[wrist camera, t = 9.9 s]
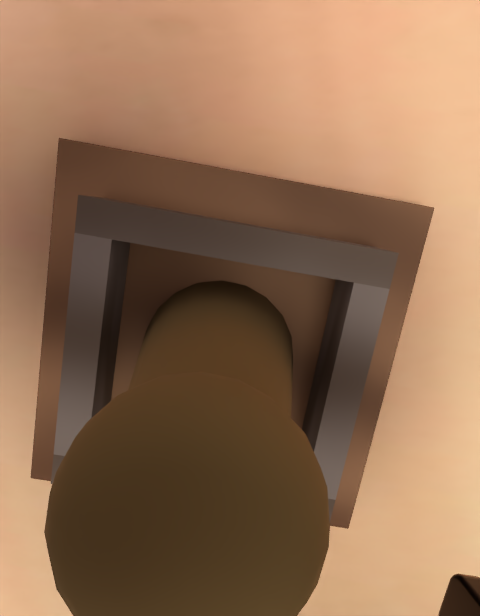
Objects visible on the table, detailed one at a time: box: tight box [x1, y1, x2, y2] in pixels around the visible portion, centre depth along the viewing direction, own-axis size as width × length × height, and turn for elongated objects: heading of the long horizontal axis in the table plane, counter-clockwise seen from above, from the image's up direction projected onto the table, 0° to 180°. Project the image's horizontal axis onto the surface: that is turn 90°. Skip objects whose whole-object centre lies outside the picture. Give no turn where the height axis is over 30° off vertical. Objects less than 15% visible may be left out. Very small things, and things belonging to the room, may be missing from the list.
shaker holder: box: [31, 138, 434, 528], centre depth 17 cm, size 14×14×4 cm
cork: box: [45, 280, 330, 616], centre depth 12 cm, size 6×6×11 cm
